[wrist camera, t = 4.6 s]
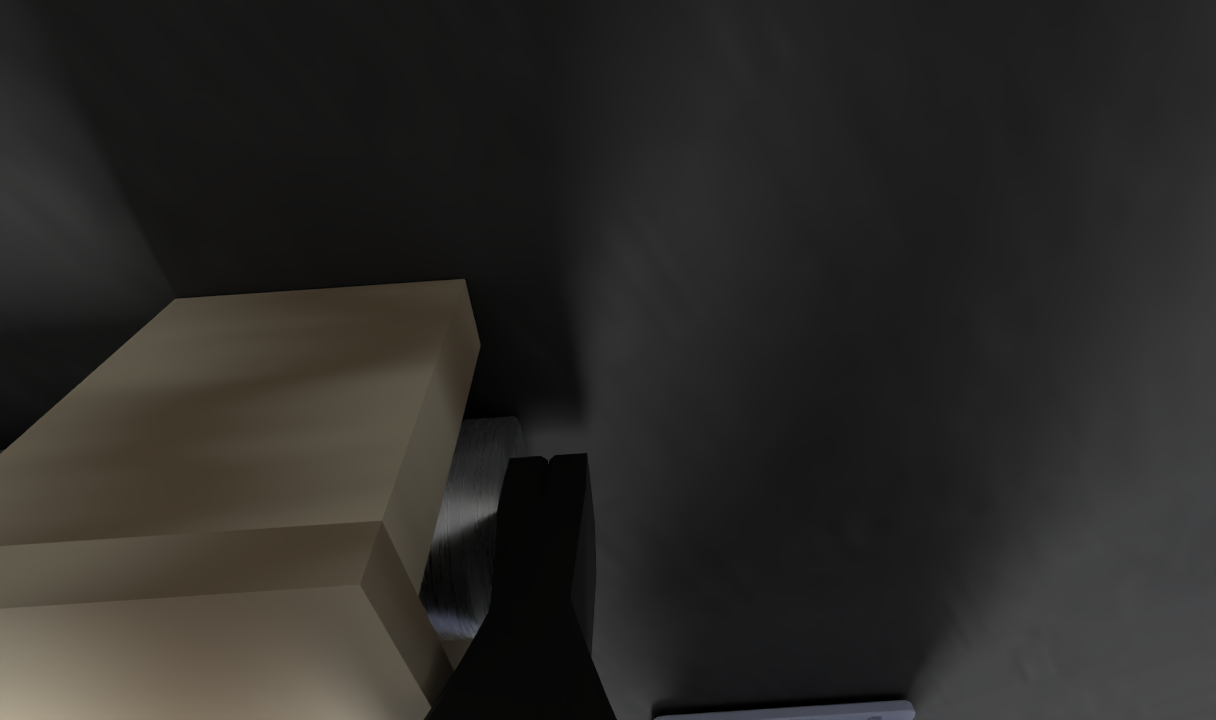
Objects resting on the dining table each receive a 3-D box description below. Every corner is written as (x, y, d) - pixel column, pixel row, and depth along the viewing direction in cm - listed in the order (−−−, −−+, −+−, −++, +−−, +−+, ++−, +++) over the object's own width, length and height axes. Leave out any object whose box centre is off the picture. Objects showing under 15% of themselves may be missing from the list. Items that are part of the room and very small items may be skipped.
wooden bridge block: (464, 278, 10) (360, 584, 5) (530, 553, 14) (506, 836, 10) (175, 298, 10) (-189, 621, 5) (337, 566, 14) (224, 855, 10)
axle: (508, 374, 11) (485, 577, 8) (537, 487, 14) (527, 667, 11) (-111, 414, 11) (-355, 631, 8) (45, 519, 14) (-93, 707, 11)
